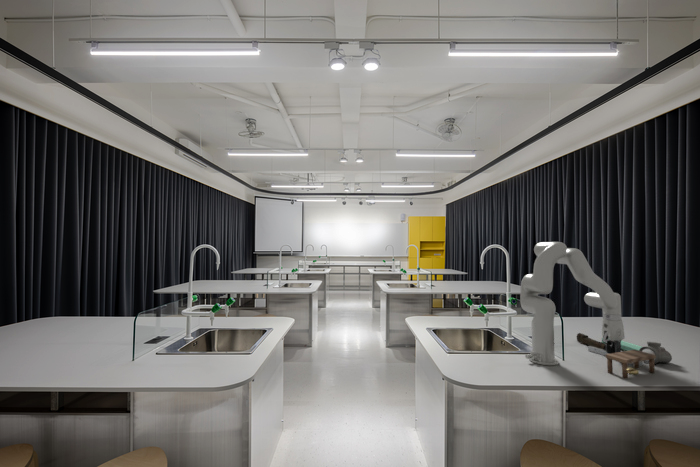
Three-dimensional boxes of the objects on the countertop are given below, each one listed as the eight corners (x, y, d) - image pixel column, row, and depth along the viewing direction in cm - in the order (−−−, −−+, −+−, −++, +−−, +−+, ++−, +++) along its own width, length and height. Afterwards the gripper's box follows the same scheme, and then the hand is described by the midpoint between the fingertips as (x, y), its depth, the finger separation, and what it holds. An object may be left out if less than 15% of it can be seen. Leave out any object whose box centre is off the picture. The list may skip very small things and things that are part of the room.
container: (655, 347, 163) (607, 333, 188) (647, 352, 162) (600, 337, 187) (659, 357, 163) (611, 342, 188) (651, 363, 162) (603, 347, 187)
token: (632, 375, 143) (632, 371, 143) (620, 371, 148) (620, 367, 148) (641, 375, 144) (641, 370, 144) (629, 370, 149) (629, 366, 149)
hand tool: (613, 353, 172) (612, 343, 172) (603, 353, 172) (603, 343, 172) (582, 341, 194) (582, 332, 195) (574, 341, 195) (574, 332, 195)
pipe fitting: (655, 365, 153) (655, 343, 154) (638, 361, 160) (637, 340, 162) (676, 367, 154) (675, 345, 156) (658, 362, 162) (657, 341, 164)
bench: (626, 379, 139) (625, 360, 139) (606, 372, 146) (605, 354, 147) (656, 373, 145) (655, 354, 145) (635, 366, 153) (634, 349, 153)
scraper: (638, 366, 153) (638, 348, 154) (587, 351, 176) (586, 335, 176) (643, 365, 155) (642, 347, 155) (591, 350, 177) (591, 334, 178)
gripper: (608, 319, 160) (610, 357, 159) (631, 317, 165) (632, 353, 165) (593, 316, 167) (594, 352, 166) (614, 314, 172) (616, 349, 172)
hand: (613, 352), depth 165 cm, fingers closed on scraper, 3 cm apart
